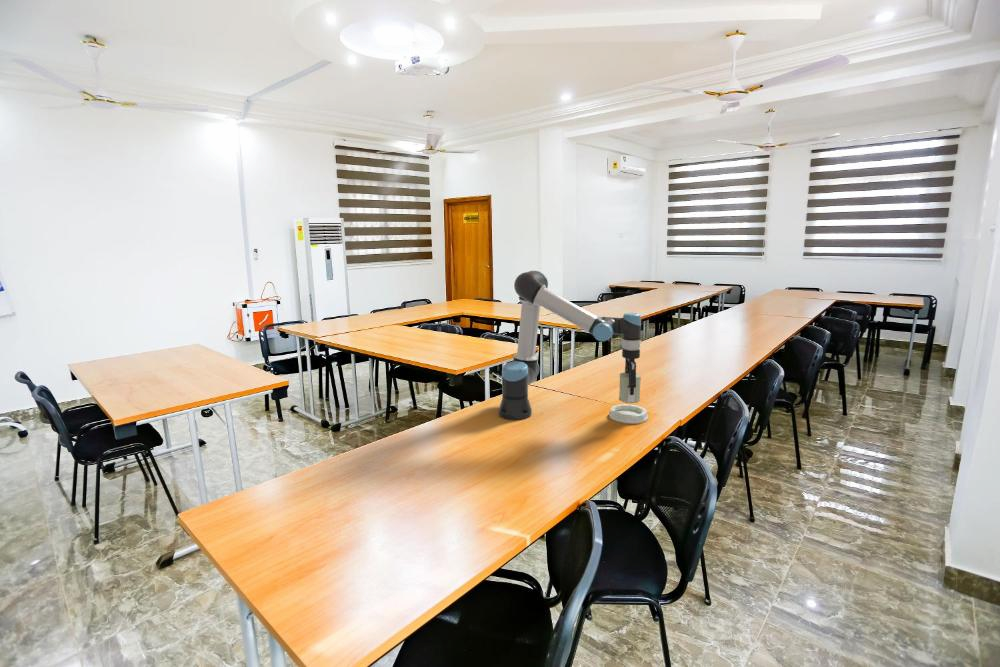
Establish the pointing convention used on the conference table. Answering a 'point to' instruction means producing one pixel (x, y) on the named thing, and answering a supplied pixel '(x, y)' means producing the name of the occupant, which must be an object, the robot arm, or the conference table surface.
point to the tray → (628, 414)
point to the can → (624, 390)
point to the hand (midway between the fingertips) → (629, 397)
